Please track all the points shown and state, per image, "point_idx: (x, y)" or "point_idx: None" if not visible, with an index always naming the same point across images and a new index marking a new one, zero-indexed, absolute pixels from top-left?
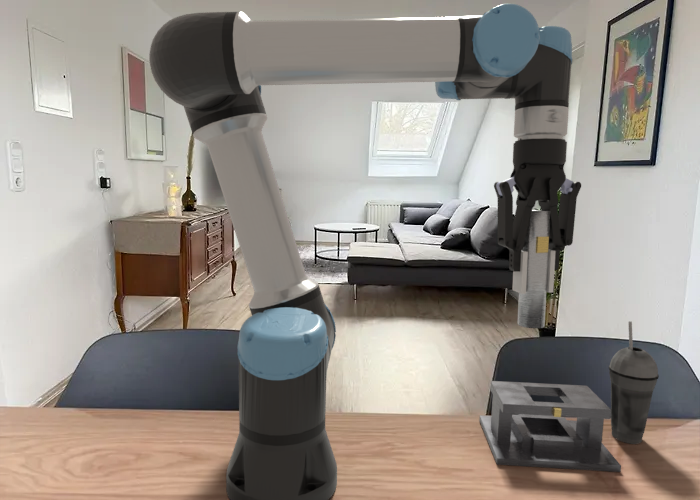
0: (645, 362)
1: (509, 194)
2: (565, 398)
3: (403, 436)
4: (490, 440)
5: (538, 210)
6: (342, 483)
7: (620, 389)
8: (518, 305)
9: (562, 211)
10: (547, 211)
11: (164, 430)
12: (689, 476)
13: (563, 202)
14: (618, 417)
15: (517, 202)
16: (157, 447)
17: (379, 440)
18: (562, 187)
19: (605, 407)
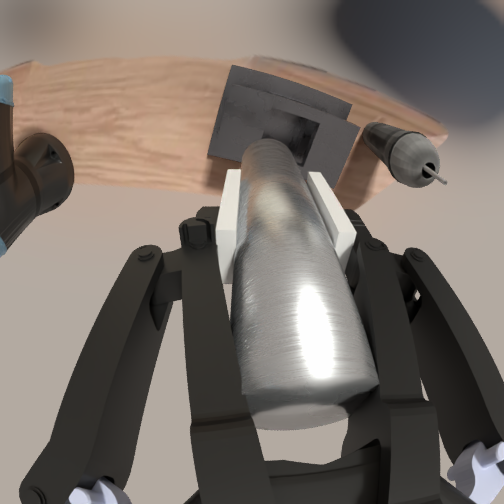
0: (415, 186)
1: (112, 481)
2: (311, 142)
3: (130, 96)
4: (216, 121)
5: (331, 403)
6: (77, 171)
7: (383, 155)
8: (242, 166)
9: (448, 373)
10: (314, 426)
11: None
12: (366, 198)
13: (462, 410)
14: (370, 143)
15: (195, 443)
16: None
17: (106, 104)
18: (469, 478)
19: (331, 183)
